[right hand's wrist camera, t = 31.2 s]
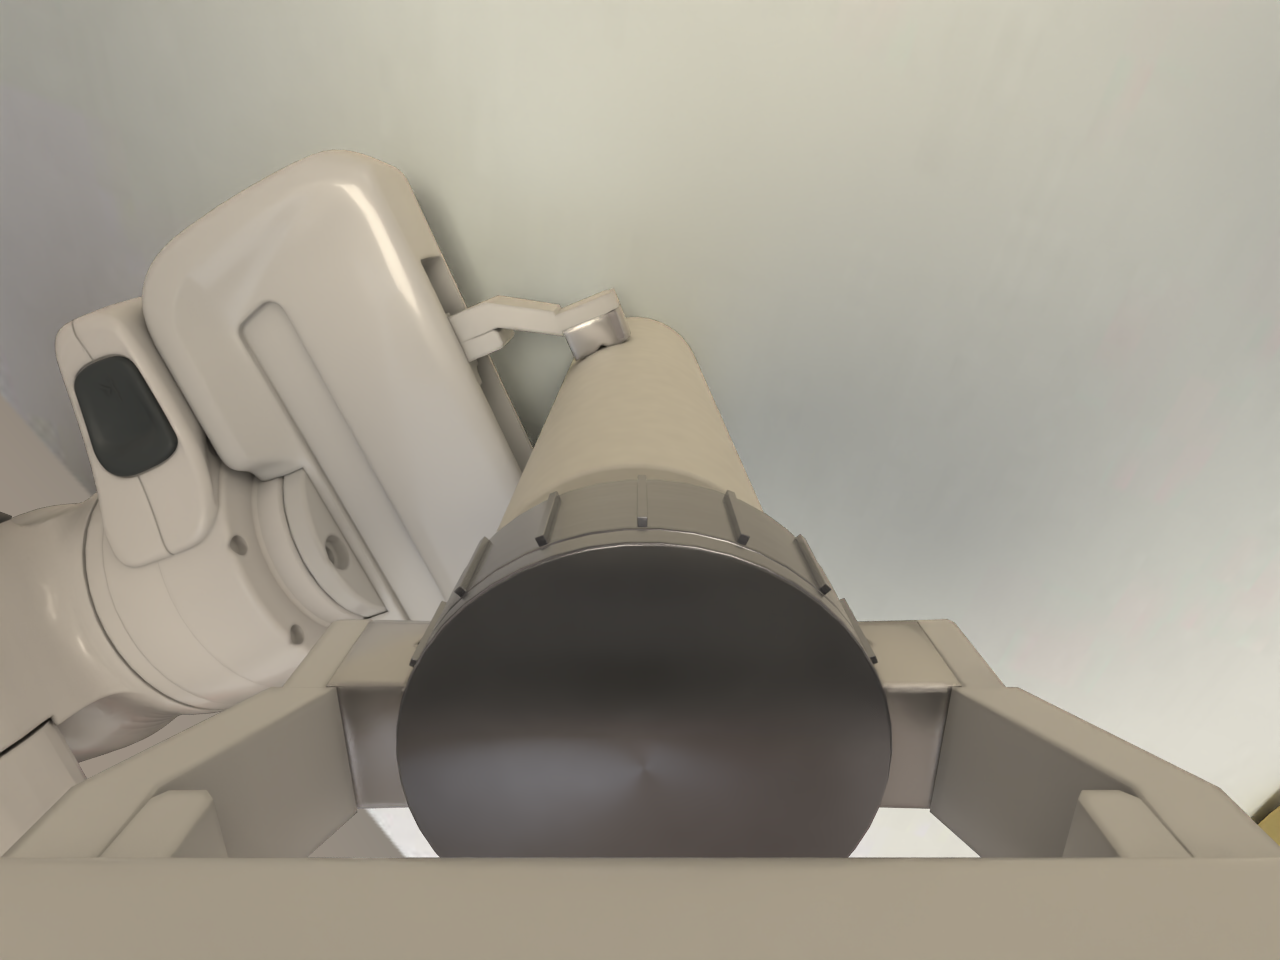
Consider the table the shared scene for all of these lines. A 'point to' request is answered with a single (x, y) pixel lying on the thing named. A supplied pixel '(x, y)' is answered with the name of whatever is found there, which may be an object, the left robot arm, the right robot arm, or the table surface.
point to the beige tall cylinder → (632, 424)
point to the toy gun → (1272, 825)
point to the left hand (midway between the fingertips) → (660, 406)
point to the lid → (643, 689)
